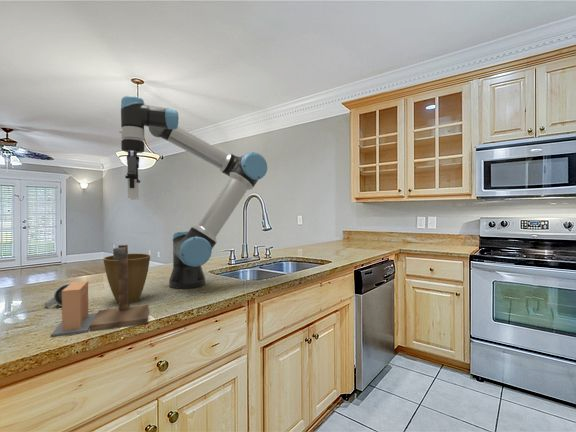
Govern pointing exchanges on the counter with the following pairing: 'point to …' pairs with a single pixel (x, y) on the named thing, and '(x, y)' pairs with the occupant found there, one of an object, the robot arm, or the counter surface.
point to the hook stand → (121, 301)
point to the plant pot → (135, 275)
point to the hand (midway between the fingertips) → (133, 198)
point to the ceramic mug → (57, 296)
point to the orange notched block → (74, 305)
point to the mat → (83, 329)
